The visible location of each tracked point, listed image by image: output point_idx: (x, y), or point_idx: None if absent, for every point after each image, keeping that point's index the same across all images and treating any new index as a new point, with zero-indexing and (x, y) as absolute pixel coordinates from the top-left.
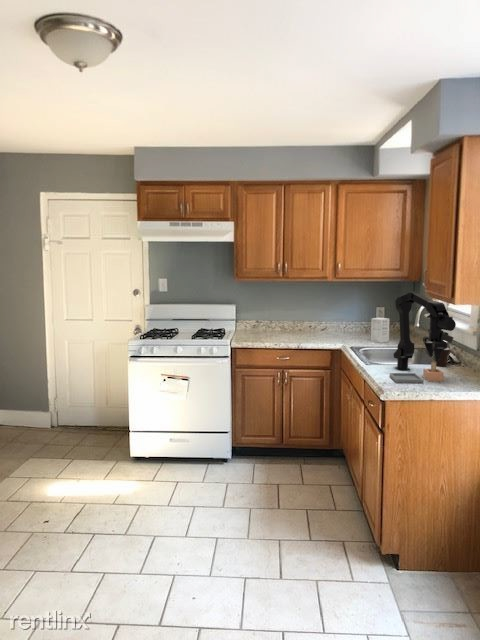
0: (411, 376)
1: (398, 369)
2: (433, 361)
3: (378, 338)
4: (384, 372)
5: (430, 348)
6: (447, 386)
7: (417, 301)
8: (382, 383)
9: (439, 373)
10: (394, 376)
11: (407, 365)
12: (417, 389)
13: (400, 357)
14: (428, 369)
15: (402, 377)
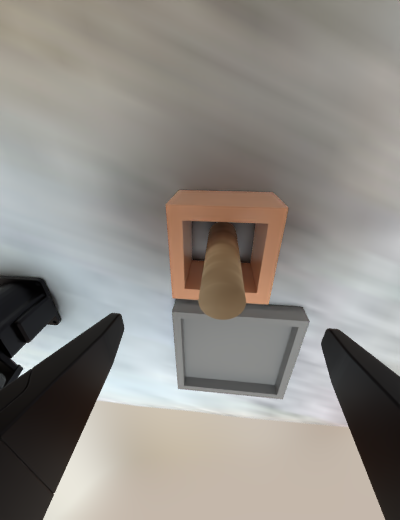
0: (195, 323)
1: (58, 323)
2: (201, 298)
3: None
4: (114, 368)
5: (53, 433)
6: (394, 212)
7: None
8: (272, 410)
9: (280, 235)
10: (236, 392)
11: (18, 300)
12: (386, 354)
13: (14, 375)
14: (184, 275)
15: (214, 356)
